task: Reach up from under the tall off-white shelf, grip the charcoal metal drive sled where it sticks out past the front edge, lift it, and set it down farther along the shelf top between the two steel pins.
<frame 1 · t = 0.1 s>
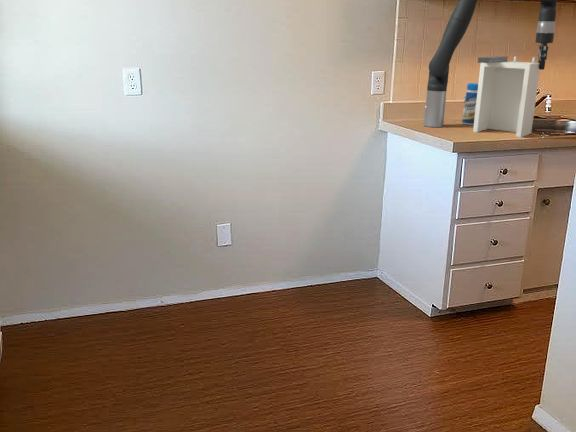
hand: (540, 68, 285), 29 cm above the worktop, tool pointing down, fingers open, 8 cm apart
drive sled: (492, 61, 282), point 32 cm above the worktop, touching shelf
beverage bottle: (470, 124, 316), on the worktop
shelf: (502, 132, 292), on the worktop
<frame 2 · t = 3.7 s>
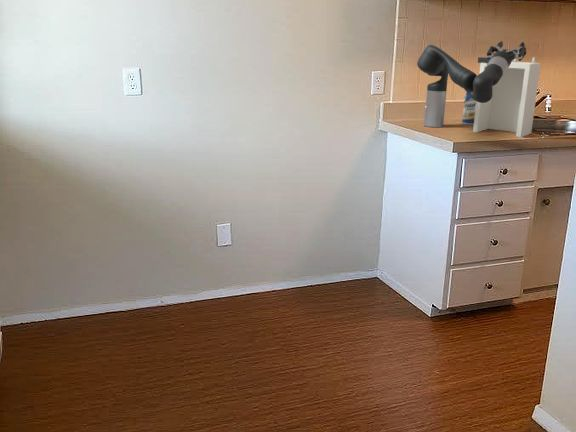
hand: (512, 43, 253), 41 cm above the worktop, tool pointing upward, fingers open, 8 cm apart
nothing on the worktop moved.
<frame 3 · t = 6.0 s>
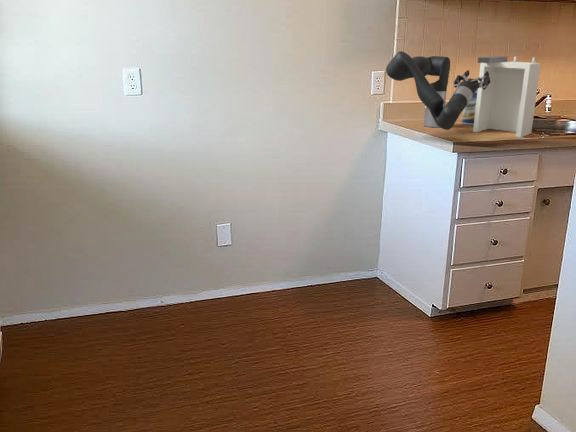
hand: (478, 72, 270), 28 cm above the worktop, tool pointing upward, fingers open, 8 cm apart
nothing on the worktop moved.
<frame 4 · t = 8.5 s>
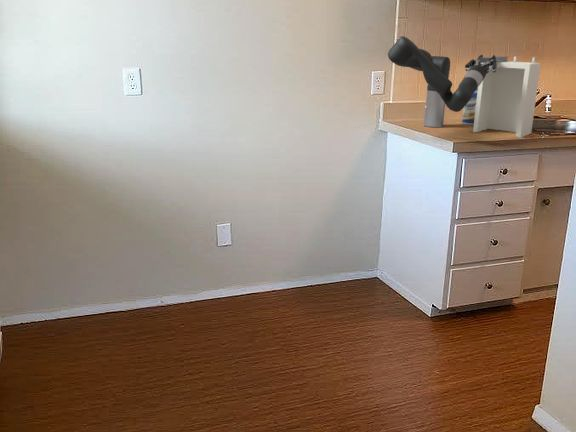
hand: (488, 56, 276), 34 cm above the worktop, tool pointing upward, fingers closed on drive sled, 5 cm apart
drive sled: (492, 61, 282), point 32 cm above the worktop, touching gripper, shelf
everything else where it was.
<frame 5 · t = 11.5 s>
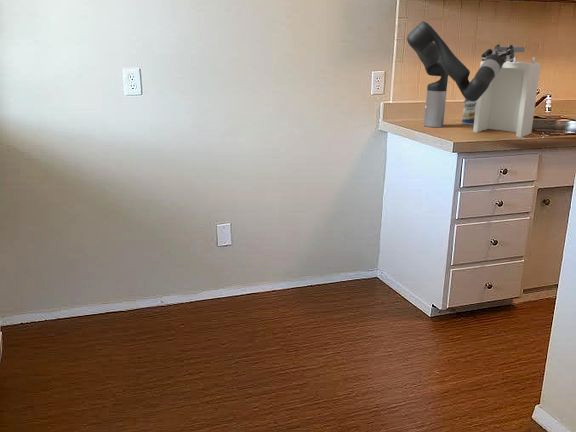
hand: (505, 46, 270), 39 cm above the worktop, tool pointing upward, fingers closed on drive sled, 5 cm apart
drive sled: (509, 52, 276), point 37 cm above the worktop, touching gripper
everything else where it was.
when the fingers open (35 cm above the worktop, at t = 14.1 s): drive sled stays where it is, resting on shelf.
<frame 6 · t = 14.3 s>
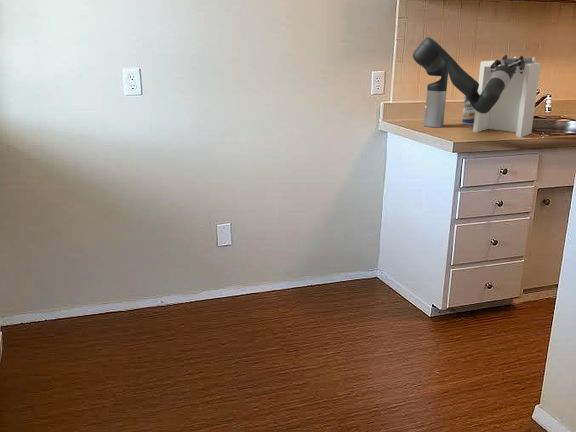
hand: (514, 57, 269), 35 cm above the worktop, tool pointing upward, fingers open, 6 cm apart
drive sled: (518, 63, 276), point 32 cm above the worktop, touching shelf
everything else where it was.
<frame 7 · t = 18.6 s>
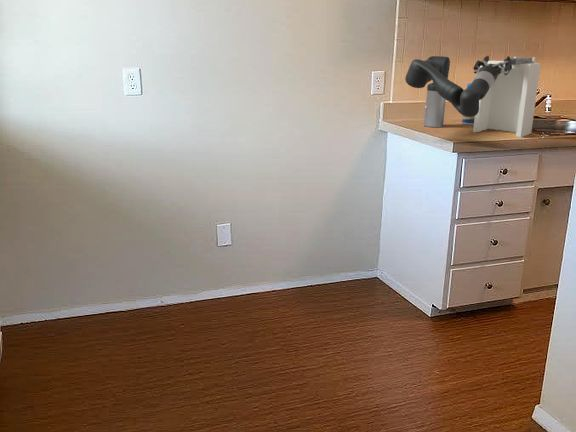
hand: (498, 57, 256), 35 cm above the worktop, tool pointing upward, fingers open, 8 cm apart
nothing on the worktop moved.
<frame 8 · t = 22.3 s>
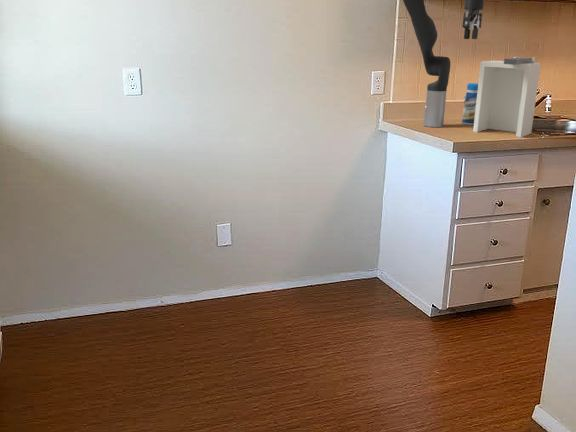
hand: (470, 39, 257), 42 cm above the worktop, tool pointing down, fingers open, 8 cm apart
nothing on the worktop moved.
at the end: drive sled 0.0 cm from the target spot, point 32.0 cm above the worktop; drive sled tilted 0°; the gripper is holding nothing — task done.
